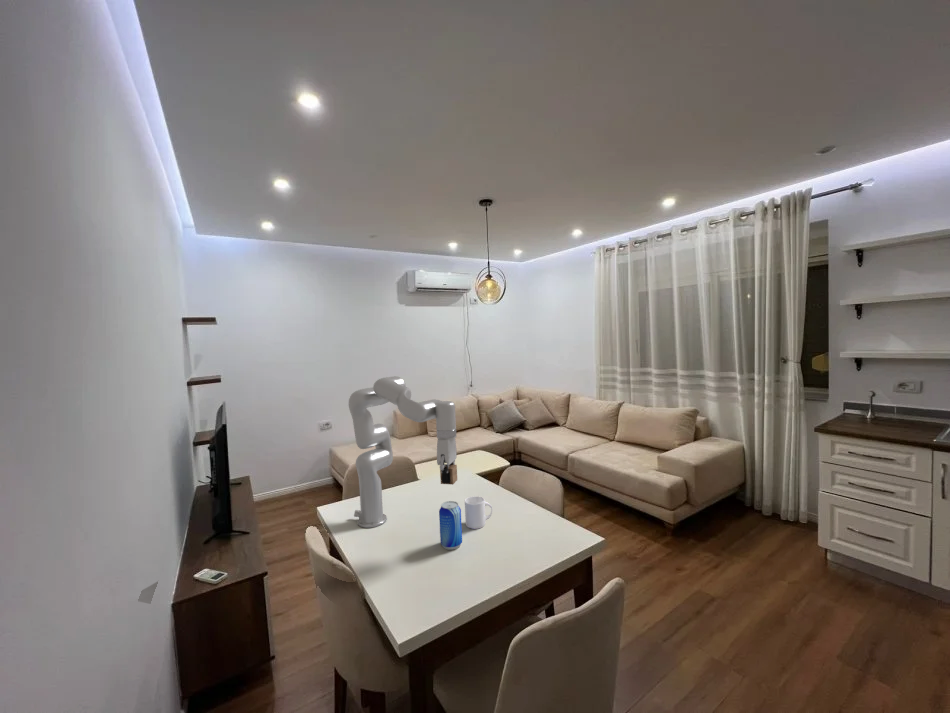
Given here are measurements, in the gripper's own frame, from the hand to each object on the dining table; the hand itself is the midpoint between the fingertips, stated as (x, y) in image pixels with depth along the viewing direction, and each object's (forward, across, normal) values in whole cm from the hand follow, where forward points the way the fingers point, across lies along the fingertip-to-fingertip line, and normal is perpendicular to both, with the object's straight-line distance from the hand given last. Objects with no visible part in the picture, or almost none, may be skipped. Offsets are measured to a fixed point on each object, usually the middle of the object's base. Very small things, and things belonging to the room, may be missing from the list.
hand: (448, 479), depth 149 cm
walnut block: (+1, 0, 0) cm, 1 cm away
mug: (+26, -19, +6) cm, 33 cm away
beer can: (+26, 0, 0) cm, 26 cm away
